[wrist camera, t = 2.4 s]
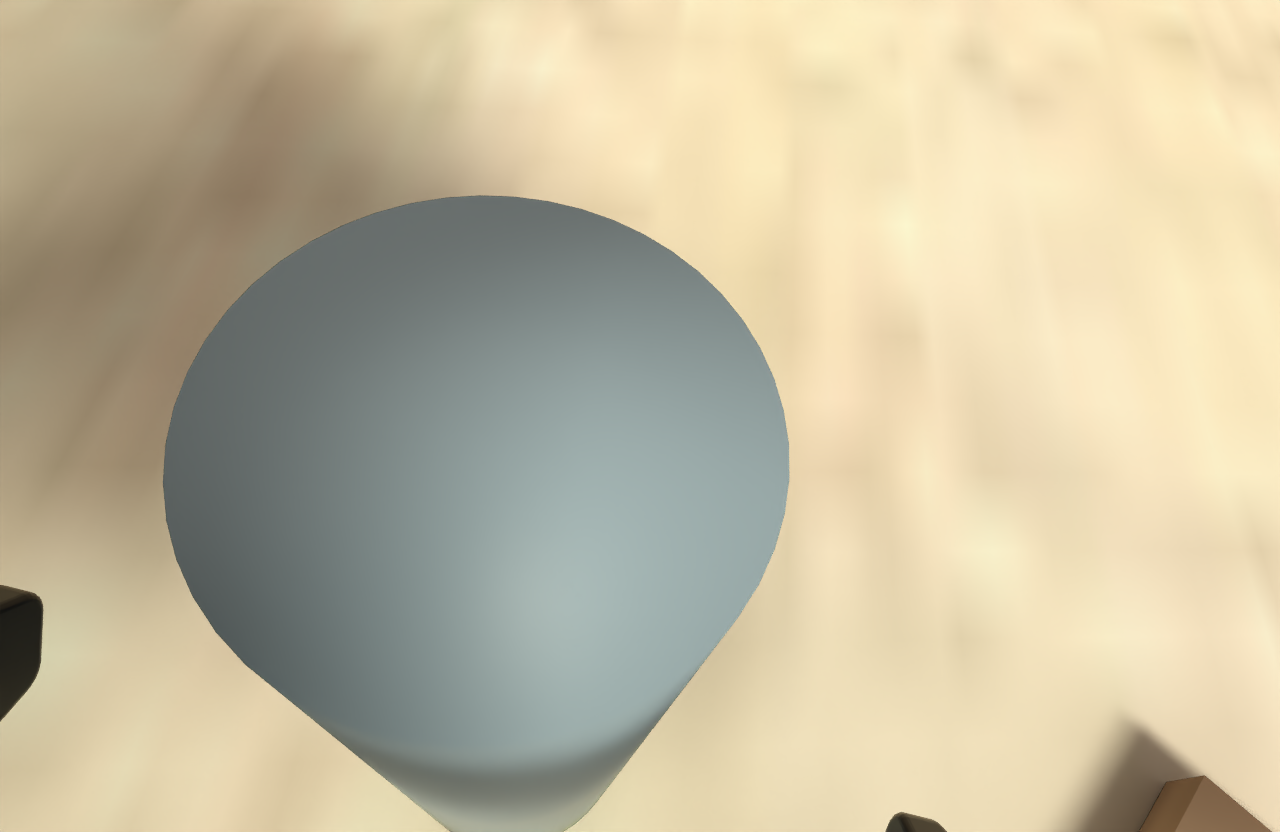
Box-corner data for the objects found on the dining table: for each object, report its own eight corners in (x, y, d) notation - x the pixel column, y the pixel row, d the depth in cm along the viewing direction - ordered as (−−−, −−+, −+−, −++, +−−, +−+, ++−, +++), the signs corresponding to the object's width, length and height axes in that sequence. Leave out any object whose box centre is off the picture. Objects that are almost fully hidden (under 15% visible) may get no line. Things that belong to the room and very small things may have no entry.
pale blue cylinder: (418, 876, 16) (167, 836, 5) (389, 645, 18) (160, 228, 7) (645, 813, 17) (878, 655, 6) (594, 599, 19) (694, 169, 8)
